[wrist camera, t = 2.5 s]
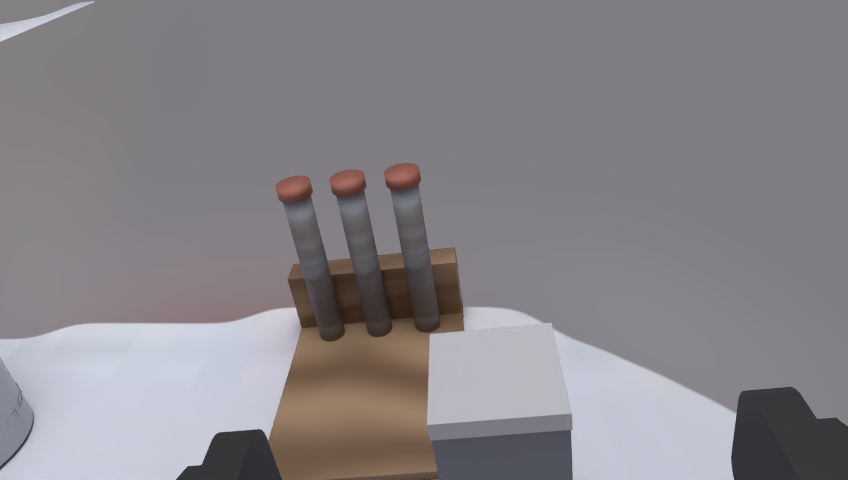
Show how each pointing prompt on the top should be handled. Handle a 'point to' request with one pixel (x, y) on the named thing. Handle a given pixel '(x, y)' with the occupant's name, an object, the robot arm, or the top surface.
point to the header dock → (363, 338)
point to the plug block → (499, 405)
